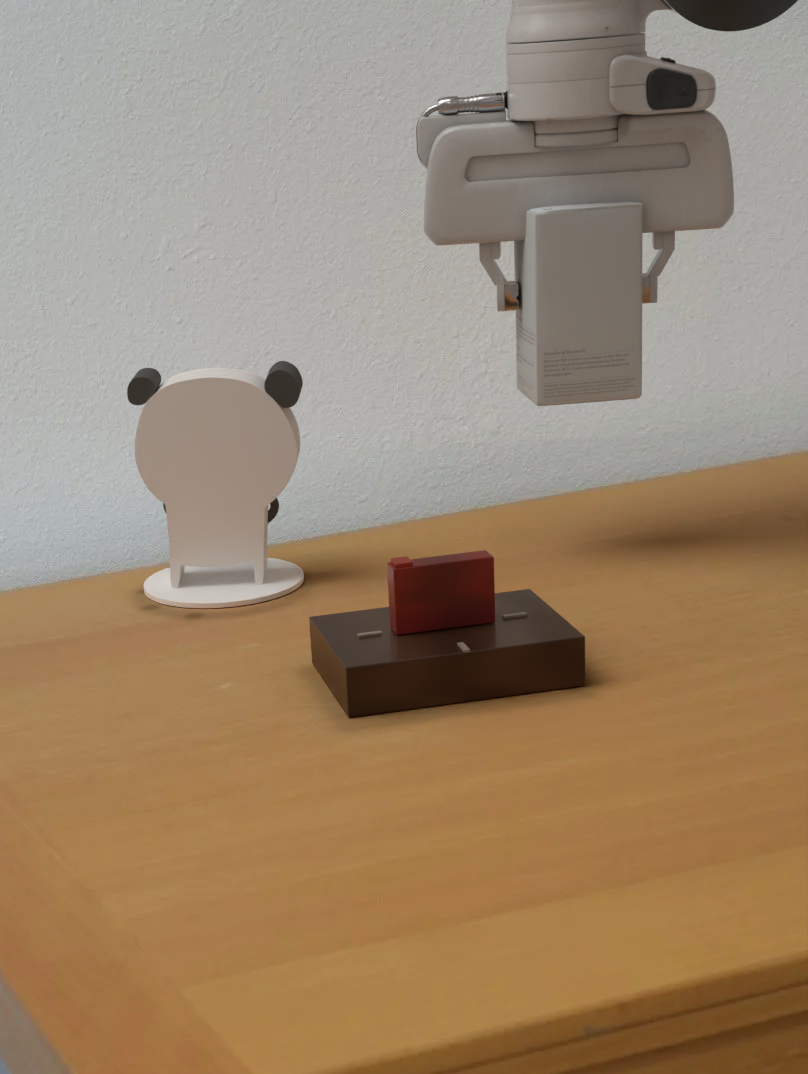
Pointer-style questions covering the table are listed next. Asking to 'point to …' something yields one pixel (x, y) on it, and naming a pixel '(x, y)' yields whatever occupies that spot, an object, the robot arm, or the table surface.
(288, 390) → the panda figurine
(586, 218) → the white packaging box
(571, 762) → the table surface
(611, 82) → the robot arm
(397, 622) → the red rectangular block
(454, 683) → the stamp base
